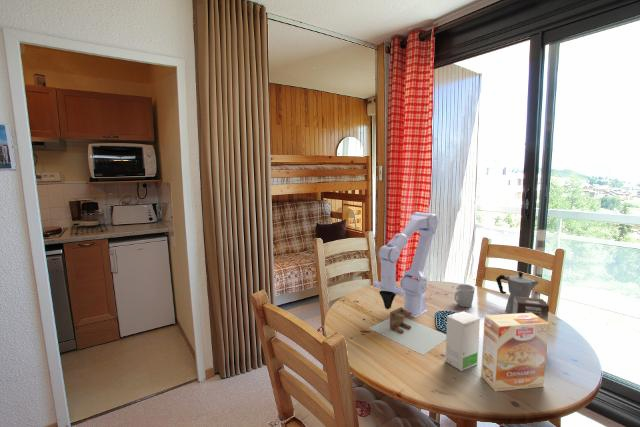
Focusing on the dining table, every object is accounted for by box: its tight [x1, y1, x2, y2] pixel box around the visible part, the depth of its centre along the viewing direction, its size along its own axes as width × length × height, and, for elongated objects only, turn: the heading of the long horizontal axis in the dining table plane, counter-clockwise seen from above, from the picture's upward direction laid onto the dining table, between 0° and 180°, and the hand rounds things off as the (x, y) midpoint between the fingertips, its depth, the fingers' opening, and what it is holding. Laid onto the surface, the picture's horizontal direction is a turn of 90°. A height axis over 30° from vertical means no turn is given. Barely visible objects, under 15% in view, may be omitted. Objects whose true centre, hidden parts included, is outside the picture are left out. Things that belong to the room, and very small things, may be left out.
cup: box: [453, 283, 476, 308], centre depth 142 cm, size 8×10×8 cm
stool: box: [389, 307, 412, 334], centre depth 122 cm, size 5×7×7 cm
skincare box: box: [444, 310, 481, 372], centre depth 100 cm, size 8×7×16 cm
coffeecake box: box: [480, 312, 550, 392], centre depth 90 cm, size 15×7×20 cm, turn 96°
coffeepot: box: [496, 271, 540, 314], centre depth 134 cm, size 15×9×18 cm, turn 59°
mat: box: [368, 316, 446, 356], centre depth 119 cm, size 18×24×1 cm
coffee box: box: [513, 296, 550, 322], centre depth 110 cm, size 9×6×16 cm
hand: (387, 308), depth 126 cm, fingers closed
